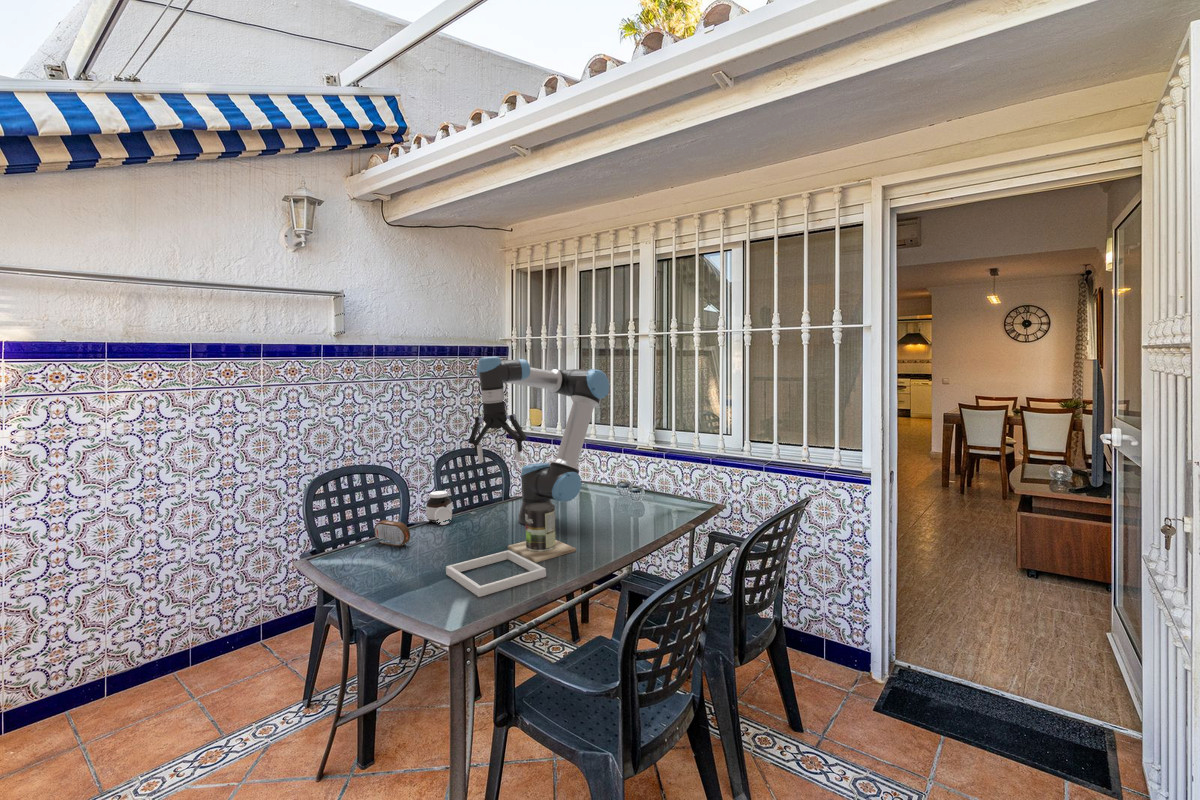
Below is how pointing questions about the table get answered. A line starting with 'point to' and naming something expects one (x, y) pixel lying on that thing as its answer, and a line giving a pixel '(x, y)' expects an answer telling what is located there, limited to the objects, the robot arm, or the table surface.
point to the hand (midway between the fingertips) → (499, 462)
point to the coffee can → (540, 527)
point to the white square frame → (483, 590)
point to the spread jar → (439, 507)
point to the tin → (392, 532)
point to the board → (540, 556)
